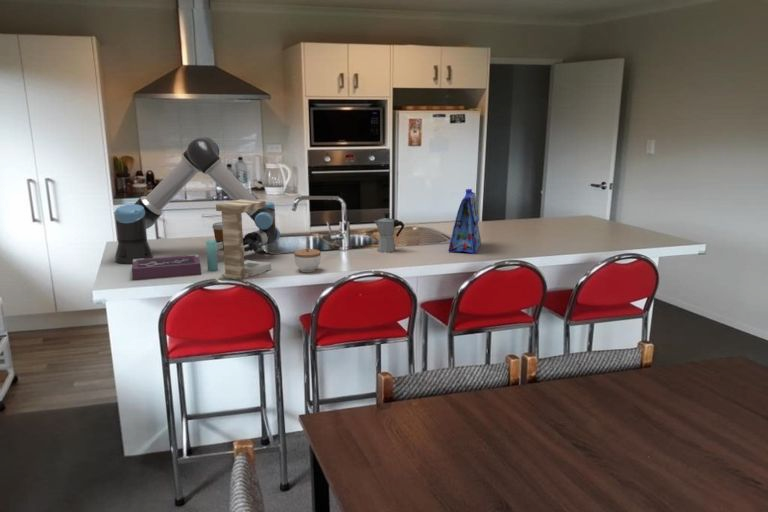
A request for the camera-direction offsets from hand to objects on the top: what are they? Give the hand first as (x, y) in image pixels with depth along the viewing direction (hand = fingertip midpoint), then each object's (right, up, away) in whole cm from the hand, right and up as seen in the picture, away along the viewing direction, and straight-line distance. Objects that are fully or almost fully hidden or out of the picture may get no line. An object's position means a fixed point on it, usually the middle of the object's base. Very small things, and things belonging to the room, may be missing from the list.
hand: (225, 249), depth 243 cm
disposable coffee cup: (-10, +1, +33) cm, 34 cm away
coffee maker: (+69, 0, +30) cm, 75 cm away
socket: (+12, -9, -7) cm, 17 cm away
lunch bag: (+106, +1, +36) cm, 112 cm away
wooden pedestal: (+11, -10, -11) cm, 18 cm away
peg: (-3, -8, -5) cm, 11 cm away
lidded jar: (+35, -9, -5) cm, 37 cm away
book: (-21, -10, -9) cm, 25 cm away
